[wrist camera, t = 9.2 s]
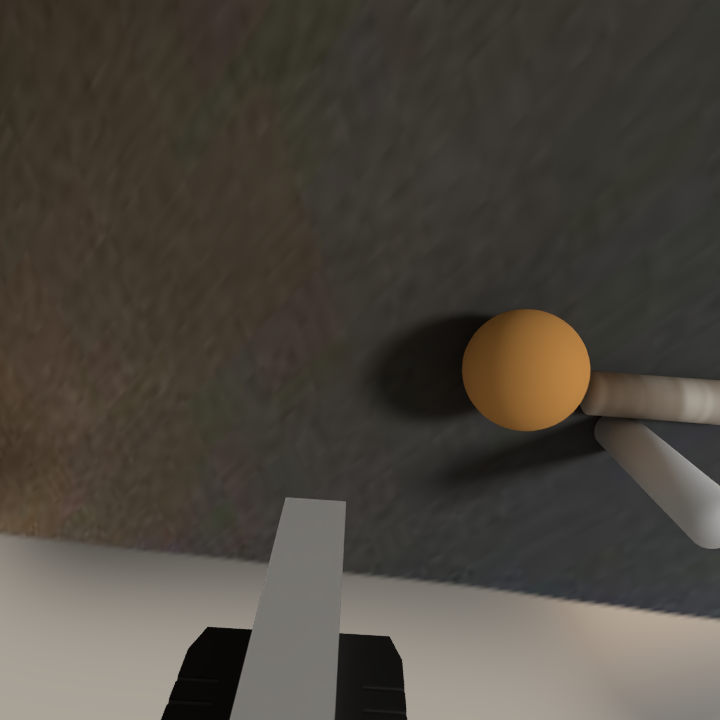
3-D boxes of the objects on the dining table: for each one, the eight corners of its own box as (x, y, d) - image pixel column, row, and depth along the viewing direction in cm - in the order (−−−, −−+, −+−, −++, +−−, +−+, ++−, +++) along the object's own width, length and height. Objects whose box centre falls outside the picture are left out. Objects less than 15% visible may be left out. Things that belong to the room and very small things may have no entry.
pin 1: (594, 421, 27) (763, 433, 27) (603, 377, 26) (775, 390, 26) (575, 406, 29) (731, 418, 29) (583, 365, 29) (742, 377, 29)
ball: (626, 387, 25) (523, 378, 30) (593, 281, 23) (488, 290, 28) (567, 468, 23) (465, 444, 27) (523, 357, 20) (420, 352, 25)
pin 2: (585, 434, 30) (676, 530, 21) (614, 402, 29) (719, 488, 20) (616, 455, 30) (717, 558, 21) (645, 424, 29) (761, 517, 21)
